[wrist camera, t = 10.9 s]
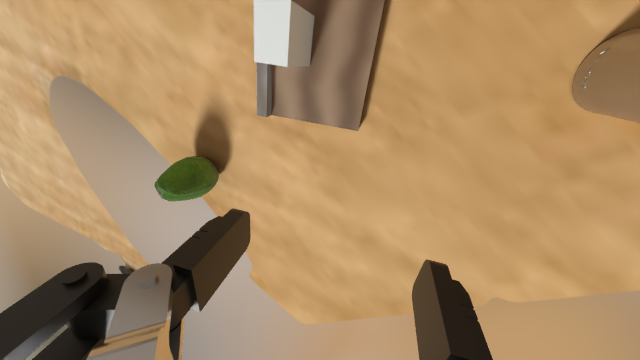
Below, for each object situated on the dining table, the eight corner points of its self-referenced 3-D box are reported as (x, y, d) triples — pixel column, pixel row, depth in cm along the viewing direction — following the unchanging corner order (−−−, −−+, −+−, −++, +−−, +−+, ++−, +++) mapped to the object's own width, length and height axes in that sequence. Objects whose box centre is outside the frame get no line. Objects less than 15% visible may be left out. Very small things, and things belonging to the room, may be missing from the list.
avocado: (200, 142, 46) (148, 164, 36) (232, 167, 47) (189, 197, 37) (187, 168, 50) (136, 195, 40) (216, 191, 51) (173, 224, 41)
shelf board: (392, -33, 28) (393, -46, 25) (359, 127, 38) (356, 134, 34) (267, -43, 31) (253, -55, 28) (265, 110, 40) (255, 114, 37)
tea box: (309, 66, 34) (287, 66, 26) (281, 61, 34) (251, 61, 26) (314, 16, 31) (291, 0, 23) (284, 12, 31) (251, -5, 24)
